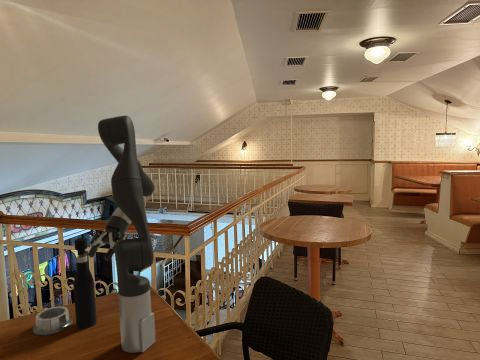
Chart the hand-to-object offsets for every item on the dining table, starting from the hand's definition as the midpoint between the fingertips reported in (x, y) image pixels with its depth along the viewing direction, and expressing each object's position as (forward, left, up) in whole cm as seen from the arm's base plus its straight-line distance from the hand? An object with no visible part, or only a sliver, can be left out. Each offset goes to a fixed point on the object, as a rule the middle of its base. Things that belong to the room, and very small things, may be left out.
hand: (97, 258), depth 119 cm
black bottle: (+1, +6, -22) cm, 23 cm away
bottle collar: (+11, +11, -22) cm, 27 cm away
